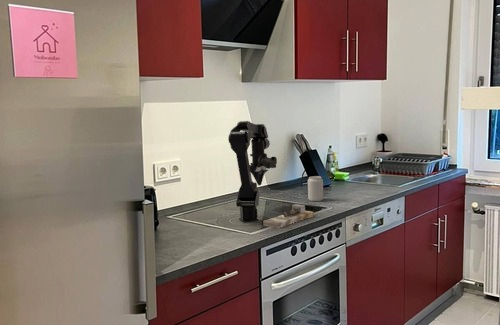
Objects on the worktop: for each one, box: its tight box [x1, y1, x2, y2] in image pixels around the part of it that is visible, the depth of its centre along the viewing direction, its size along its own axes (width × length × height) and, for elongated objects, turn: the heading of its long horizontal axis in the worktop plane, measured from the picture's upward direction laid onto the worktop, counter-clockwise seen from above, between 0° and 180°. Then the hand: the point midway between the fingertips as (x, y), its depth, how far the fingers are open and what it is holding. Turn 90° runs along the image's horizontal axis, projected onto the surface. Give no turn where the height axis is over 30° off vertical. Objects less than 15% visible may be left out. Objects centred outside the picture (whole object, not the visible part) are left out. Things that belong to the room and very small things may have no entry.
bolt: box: [281, 204, 299, 217], centre depth 206 cm, size 10×3×5 cm, turn 138°
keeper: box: [291, 203, 306, 214], centre depth 209 cm, size 3×5×3 cm, turn 48°
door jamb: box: [263, 210, 315, 229], centre depth 205 cm, size 24×8×2 cm, turn 138°
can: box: [307, 175, 324, 202], centre depth 245 cm, size 8×8×12 cm
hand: (259, 185), depth 226 cm, fingers closed
